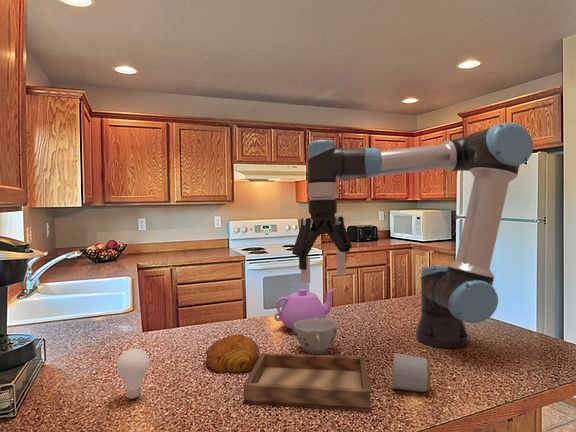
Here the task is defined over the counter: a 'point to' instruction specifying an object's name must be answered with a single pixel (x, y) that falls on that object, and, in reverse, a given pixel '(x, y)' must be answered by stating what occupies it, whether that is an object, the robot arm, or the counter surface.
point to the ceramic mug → (411, 373)
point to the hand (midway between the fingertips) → (324, 278)
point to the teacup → (315, 334)
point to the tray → (309, 382)
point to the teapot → (302, 307)
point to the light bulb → (133, 370)
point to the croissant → (233, 354)
